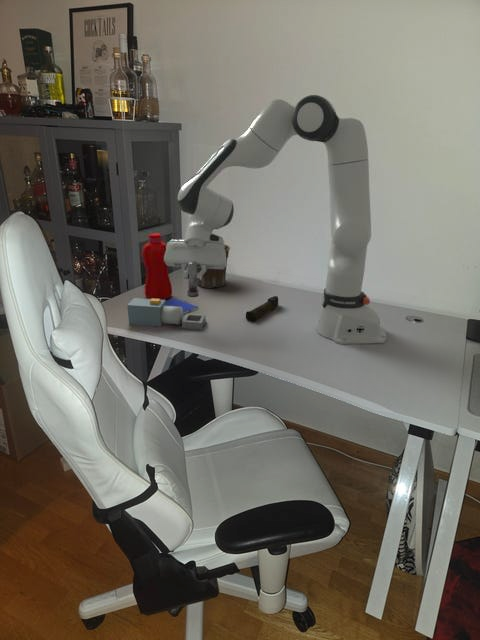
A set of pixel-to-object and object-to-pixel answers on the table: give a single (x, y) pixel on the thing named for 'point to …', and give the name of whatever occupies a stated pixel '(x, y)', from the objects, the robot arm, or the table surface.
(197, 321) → the handheld vacuum
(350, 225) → the robot arm
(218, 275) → the plant pot
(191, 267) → the grey peg
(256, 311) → the hand tool
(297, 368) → the table surface
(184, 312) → the hard drive
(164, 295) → the water bottle
